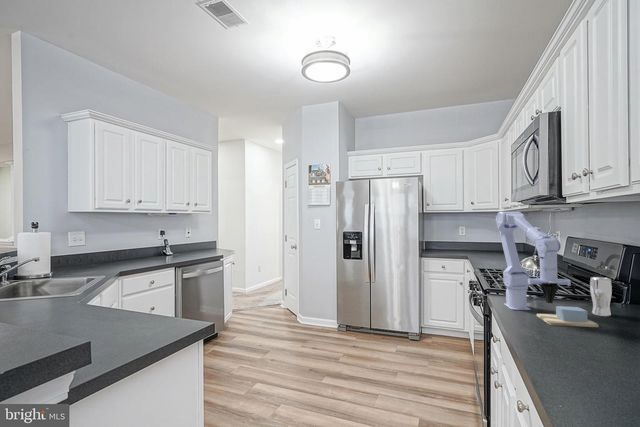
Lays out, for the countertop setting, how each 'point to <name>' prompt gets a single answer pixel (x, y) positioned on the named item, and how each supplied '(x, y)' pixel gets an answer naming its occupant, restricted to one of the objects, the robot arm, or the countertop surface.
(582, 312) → the slab
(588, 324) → the board
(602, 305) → the beer glass
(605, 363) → the countertop surface
